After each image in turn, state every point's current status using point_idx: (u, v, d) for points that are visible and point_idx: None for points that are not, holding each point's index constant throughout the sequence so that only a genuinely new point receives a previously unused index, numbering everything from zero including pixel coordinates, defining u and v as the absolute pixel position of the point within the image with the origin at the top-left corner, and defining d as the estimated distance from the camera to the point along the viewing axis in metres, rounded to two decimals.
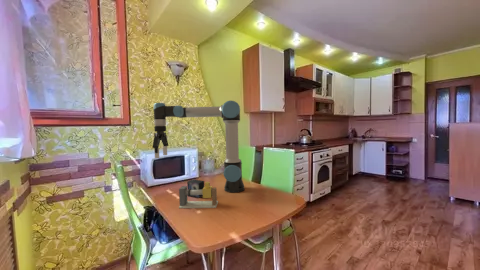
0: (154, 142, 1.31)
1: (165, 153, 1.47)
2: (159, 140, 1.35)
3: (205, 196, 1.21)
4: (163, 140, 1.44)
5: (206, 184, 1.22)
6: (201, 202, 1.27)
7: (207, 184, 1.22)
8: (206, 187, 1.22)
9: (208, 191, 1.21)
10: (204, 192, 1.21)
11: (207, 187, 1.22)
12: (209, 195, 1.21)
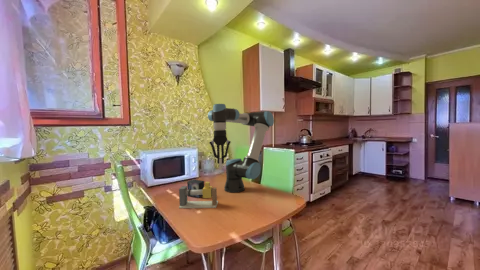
0: None
1: None
2: (217, 149, 1.21)
3: (205, 196, 1.21)
4: (221, 148, 1.22)
5: (206, 184, 1.22)
6: (201, 202, 1.27)
7: (207, 184, 1.22)
8: (206, 187, 1.22)
9: (208, 191, 1.21)
10: (204, 192, 1.21)
11: (207, 187, 1.22)
12: (209, 195, 1.21)
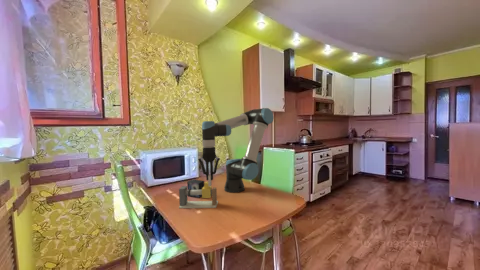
0: None
1: None
2: (206, 165, 1.21)
3: (204, 196, 1.21)
4: (210, 165, 1.22)
5: (205, 184, 1.22)
6: (201, 202, 1.27)
7: (206, 184, 1.22)
8: (205, 187, 1.22)
9: (207, 191, 1.21)
10: (203, 192, 1.21)
11: (206, 187, 1.22)
12: (208, 195, 1.21)
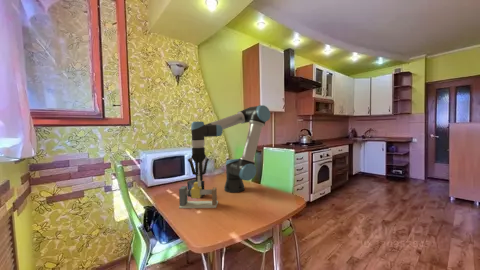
0: None
1: None
2: (195, 166, 1.22)
3: (194, 196, 1.21)
4: None
5: (195, 184, 1.22)
6: (201, 202, 1.27)
7: (196, 184, 1.22)
8: (195, 187, 1.22)
9: (197, 191, 1.21)
10: (193, 192, 1.21)
11: (196, 187, 1.22)
12: (198, 195, 1.21)
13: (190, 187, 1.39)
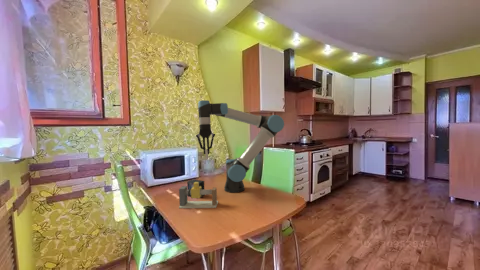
0: None
1: None
2: (203, 141, 1.35)
3: (193, 196, 1.21)
4: None
5: (195, 184, 1.22)
6: (201, 202, 1.27)
7: (196, 184, 1.22)
8: (195, 187, 1.22)
9: (196, 191, 1.21)
10: (192, 192, 1.21)
11: (195, 187, 1.22)
12: (197, 195, 1.21)
13: (190, 187, 1.39)
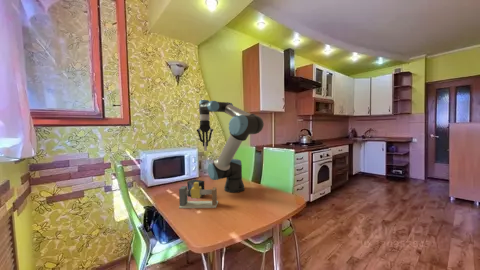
0: None
1: None
2: (202, 135, 1.56)
3: (193, 196, 1.21)
4: None
5: (195, 184, 1.22)
6: (201, 202, 1.27)
7: (196, 184, 1.22)
8: (195, 187, 1.22)
9: (196, 191, 1.21)
10: (192, 192, 1.21)
11: (195, 187, 1.22)
12: (197, 195, 1.21)
13: (190, 187, 1.39)
